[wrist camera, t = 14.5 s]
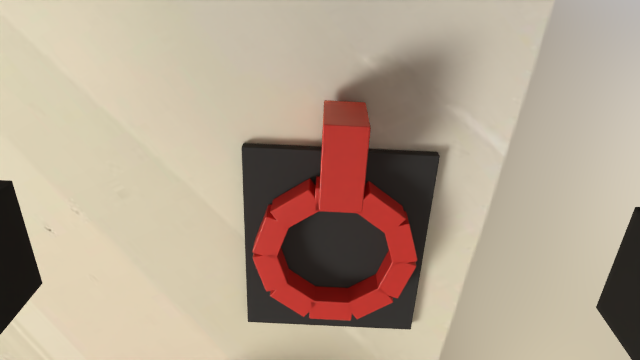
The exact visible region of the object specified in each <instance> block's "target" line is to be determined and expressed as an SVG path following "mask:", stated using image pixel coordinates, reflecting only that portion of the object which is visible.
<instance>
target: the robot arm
mask: <svg viewBox="0 0 640 360" xmlns="http://www.w3.org/2000/svg"><path fill="white" fill-rule="evenodd" d="M41 284H42V280H41V277H40V274H39V270H38V267H37V264H36V260H35V257H34V253H33V250H32V247H31V243H30V240H29V237H28V233H27V230H26V227H25V223H24V220H23V217H22V213H21V210H20V207H19V203H18V200H17V197H16V193H15V190H14V187H13V183H12V181H3V180H0V334H1V333H2V332H3V331H4V329H5V328H6V327H7V326H8V325H9V323H10V322H11V321H12V320H13V318H14V317H15V316H16V315H17V314H18V312H19V311H20V310H21V309H22V307H23V306H24V305H25V304H26V303H27V301H28V300H29V299H30V298H31V297H32V295H33V294H34V293H35V292H36V290H37V289H38V288H39V287H40V286H41ZM596 308H597V309H598V311H599V312H600V314H601V315H602V317H603V318H604V320H605V321H606V323H607V324H608V325H609V327H610V328H611V330H612V331H613V333H614V334H615V336H616V337H617V338H618V340H619V342H620V343H621V344H622V346H623V347H624V349H625V350H626V352H627V353H628V355H629V356H630V357H631V359H632V360H640V207H635V209H634V212H633V214H632V217H631V220H630V222H629V225H628V227H627V230H626V232H625V235H624V237H623V240H622V243H621V245H620V248H619V250H618V253H617V255H616V258H615V260H614V263H613V266H612V268H611V271H610V273H609V276H608V278H607V281H606V284H605V286H604V289H603V291H602V294H601V296H600V299H599V301H598V304H597V306H596Z"/></svg>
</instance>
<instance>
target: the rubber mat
mask: <svg viewBox="0 0 640 360" xmlns="http://www.w3.org/2000/svg"><path fill="white" fill-rule="evenodd" d="M321 151H322V147H311V146H289V145H268V144H246V143H244V144H243V146H242V168H243V196H244V223H245V251H246V279H247V307H248V322H263V323H285V324H306V325H328V326H349V327H371V328H392V329H411V324H412V318H413V312H414V306H415V300H416V294H417V289H418V283H419V277H420V271H421V265H422V259H423V253H424V247H425V241H426V235H427V229H428V223H429V217H430V211H431V205H432V199H433V193H434V187H435V181H436V175H437V169H438V163H439V157H440V156H439V154H438V152H420V151H398V150H376V149H368V159H367V169H366V179H365V184H366V183H367V182H368V181H370V182H371V183H372V184H374V185H375V186H376V187H378V188H379V189H380V190H382V191H383V192H384V193H386V194H387V195H388V196H390V197H391V198H392V199H394V200H395V201H396V202H398V203H399V204H400V205H402V206H403V210H404V211H406V213H407V217H408V220H409V224H410V229H411V233H412V238H413V242H414V246H415V251H416V255H417V261H415V262H416V268H415V270H414V271H413V273H412V275H411V277H410V278H409V280H408V282H407V283H406V285H405V287H404V289H403V290H402V292H401V294H400V295H399V297H398V298H394V297H393V303H391V304H389V305H386V306H384V307H382V308H380V309H378V310H376V311H374V312H372V313H370V314H367V315H365V316H363V317H361V318H359V319H356V318H355V316H354V315H353V314H352V318H351V320H350V321H349V320H330V319H310V318H309V312H308V313H307V314H306V315H305V316H304V317H303V316H301V315H300V314H298V313H297V312H295V311H293V310H292V309H290V308H289V307H287V306H285V305H284V304H282V303H280V302H279V301H277V300H276V299H274V298H272V297H271V296H270V293H271V291H266V290H265V287H264V285H263V282H262V280H261V277H260V275H259V273H258V270H257V268H256V265H255V263H254V260H253V254H254V253H253V252H252V251H253V247H254V243H255V239H256V236H257V233H258V231H259V228H260V225H261V223H262V220H263V217H264V215H265V212H266V210H267V207H268V205H269V204H270V205H272V202H273V199H275V198H277V197H278V196H280V195H282V194H283V193H285V192H287V191H289V190H290V189H292V188H294V187H296V186H297V185H299V184H301V183H302V182H304V181H306V180H308V179H311V180H312V181H313V183H314V184H315V185H316V176H320V170H321ZM281 249H282V251H283V254H284V257H285V259H286V262H287V265H288V267H289V269H290V270H291V271H293V272H294V273H296V274H297V275H299V276H300V277H302V278H303V279H305V280H307V281H308V282H310V283H311V284H313V285H314V286H320V287H339V288H349V287H351V286H353V285H355V284H357V283H359V282H361V281H363V280H365V279H367V278H369V277H371V276H373V275H375V274H376V273H377V271H378V269H379V267H380V266H381V264H382V262H383V260H384V258H385V256H386V254H387V253H388V251H389V248H388V244H387V240H386V236H385V233H384V232H383V231H381V230H380V229H378V228H377V227H376V226H374V225H373V224H371V223H370V222H369V221H367V220H366V219H364V218H363V217H362V216H360V215H359V214H358V213H345V212H325V211H318V212H316V213H315V214H313V215H311V216H309V217H307V218H306V219H304V220H302V221H300V222H299V223H297V224H295V225H293V226H291V227H290V228H289V229H288V231H287V234H286V236H285V238H284V241H283V243H282V246H281Z"/></svg>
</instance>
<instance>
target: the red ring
mask: <svg viewBox="0 0 640 360" xmlns="http://www.w3.org/2000/svg"><path fill="white" fill-rule="evenodd" d="M370 129H371V127H370V122H369V117H368V112H367V107H366V103H365V102H346V101H326V100H325V101H324V113H323V132H322V151H321V170H320V176H316V185H315V184H314V183H313V181H312V180H311V179H308V180H306V181H304V182H302V183H301V184H299V185H297V186H296V187H294V188H292V189H290V190H289V191H287V192H285V193H283V194H282V195H280V196H278V197H277V198H275V199H273V202H272V205H270V204H269V205H268V207H267V210H266V212H265V215H264V217H263V220H262V223H261V225H260V228H259V231H258V233H257V236H256V239H255V243H254V247H253V251H252V252H253V253H254V254H253V260H254V263H255V265H256V268H257V270H258V273H259V275H260V277H261V280H262V282H263V285H264V287H265V290H266V291H271V293H270V296H271V297H272V298H274V299H276V300H277V301H279V302H280V303H282V304H284V305H285V306H287V307H289V308H290V309H292V310H293V311H295V312H297V313H298V314H300V315H301V316H303V317H304V316H305V315H306V314H307V313H308V312H309V318H310V319H330V320H349V321H350V320H351V318H352V314H353V315H354V316H355V318H356V319H359V318H361V317H363V316H365V315H367V314H370V313H372V312H374V311H376V310H378V309H380V308H382V307H384V306H386V305H389V304H391V303H393V297H394V298H398V297H399V295H400V294H401V292H402V290H403V289H404V287H405V285H406V283H407V282H408V280H409V278H410V277H411V275H412V273H413V271H414V270H415V268H416V262H415V261H417V255H416V251H415V246H414V242H413V238H412V233H411V229H410V224H409V220H408V217H407V213H406V211H404V210H403V206H402V205H400V204H399V203H398V202H396V201H395V200H394V199H392V198H391V197H390V196H388V195H387V194H386V193H384V192H383V191H382V190H380V189H379V188H378V187H376V186H375V185H374V184H372V183H371V182H370V181H368V182H367V183H366V184H365V179H366V169H367V159H368V149H369V139H370ZM318 211H325V212H345V213H358V214H359V215H360V216H362V217H363V218H364V219H366V220H367V221H369V222H370V223H371V224H373V225H374V226H376V227H377V228H378V229H380V230H381V231H383V232H384V233H385V236H386V240H387V244H388V248H389V251H388V253H387V254H386V256H385V258H384V260H383V262H382V264H381V266H380V267H379V269H378V271H377V273H376V274H375V275H373V276H371V277H369V278H367V279H365V280H363V281H361V282H359V283H357V284H355V285H353V286H351V287H349V288H339V287H320V286H314V285H313V284H311V283H310V282H308V281H307V280H305V279H303V278H302V277H300V276H299V275H297V274H296V273H294V272H293V271H291V270H290V269H289V267H288V265H287V262H286V259H285V257H284V254H283V251H282V249H281V246H282V243H283V241H284V238H285V236H286V234H287V231H288V229H289V228H290V227H291V226H293V225H295V224H297V223H299V222H300V221H302V220H304V219H306V218H307V217H309V216H311V215H313V214H315V213H316V212H318Z"/></svg>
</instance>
